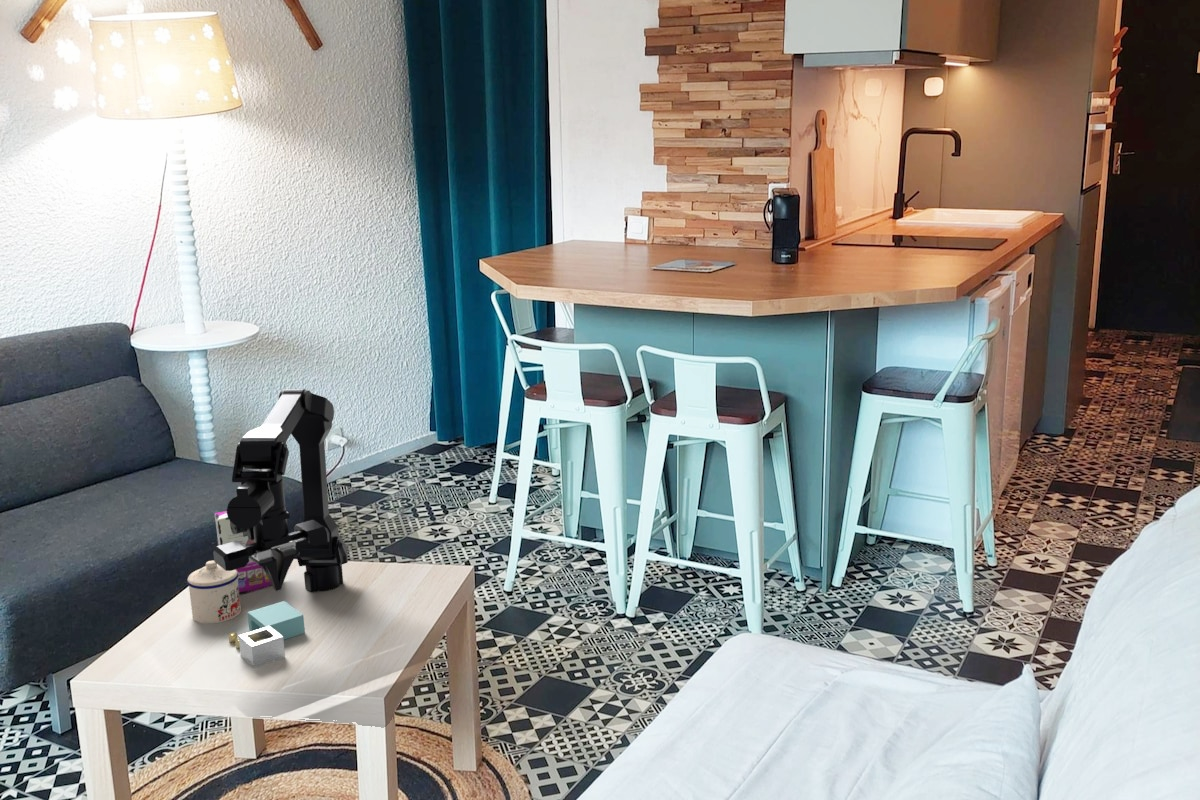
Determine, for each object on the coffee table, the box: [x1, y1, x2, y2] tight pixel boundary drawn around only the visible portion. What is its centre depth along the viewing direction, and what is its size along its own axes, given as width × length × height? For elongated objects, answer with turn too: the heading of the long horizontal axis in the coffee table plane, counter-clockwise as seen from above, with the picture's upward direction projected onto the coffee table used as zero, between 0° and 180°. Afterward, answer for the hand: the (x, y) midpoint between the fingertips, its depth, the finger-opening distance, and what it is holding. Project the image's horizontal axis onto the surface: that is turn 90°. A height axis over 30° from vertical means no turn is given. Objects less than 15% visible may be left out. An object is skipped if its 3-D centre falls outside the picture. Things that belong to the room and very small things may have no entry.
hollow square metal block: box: [237, 626, 286, 669], centre depth 188 cm, size 6×6×4 cm
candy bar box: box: [214, 510, 273, 595], centre depth 219 cm, size 11×5×16 cm, turn 118°
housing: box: [247, 600, 306, 640], centre depth 198 cm, size 7×8×4 cm
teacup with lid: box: [186, 559, 242, 624], centre depth 206 cm, size 12×9×12 cm
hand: (277, 589), depth 191 cm, fingers closed
